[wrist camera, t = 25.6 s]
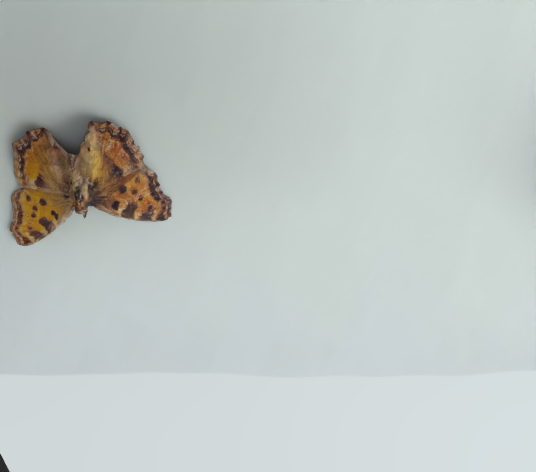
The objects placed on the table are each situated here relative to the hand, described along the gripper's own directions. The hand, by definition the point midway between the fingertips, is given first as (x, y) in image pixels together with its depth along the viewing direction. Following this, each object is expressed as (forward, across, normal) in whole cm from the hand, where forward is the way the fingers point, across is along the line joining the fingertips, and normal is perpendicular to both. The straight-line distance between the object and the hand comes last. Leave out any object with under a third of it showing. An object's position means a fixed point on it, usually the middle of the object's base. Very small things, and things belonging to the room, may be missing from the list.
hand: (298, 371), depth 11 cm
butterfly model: (+31, -10, -2) cm, 33 cm away
